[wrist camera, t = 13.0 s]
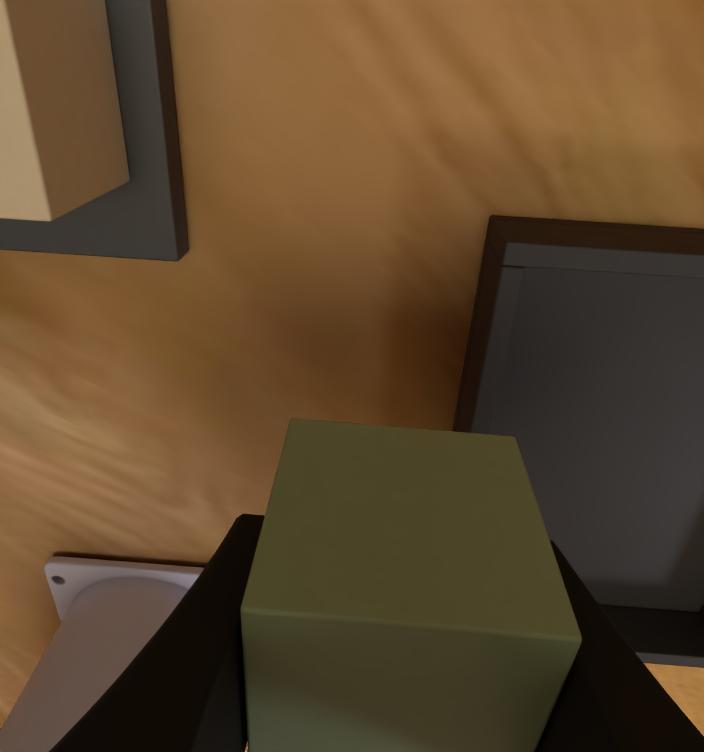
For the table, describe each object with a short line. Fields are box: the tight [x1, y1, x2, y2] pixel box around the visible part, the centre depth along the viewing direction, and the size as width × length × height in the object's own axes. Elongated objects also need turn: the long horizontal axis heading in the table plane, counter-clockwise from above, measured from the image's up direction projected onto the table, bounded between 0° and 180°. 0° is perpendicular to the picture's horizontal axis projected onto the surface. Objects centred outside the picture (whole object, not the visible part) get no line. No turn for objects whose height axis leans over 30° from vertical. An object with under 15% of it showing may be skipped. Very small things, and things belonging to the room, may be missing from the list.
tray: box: [453, 215, 704, 668], centre depth 18 cm, size 15×11×2 cm
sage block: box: [241, 418, 582, 752], centre depth 9 cm, size 4×4×4 cm
